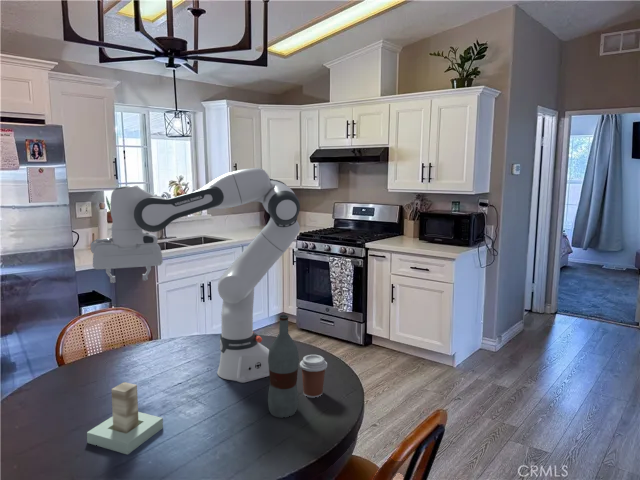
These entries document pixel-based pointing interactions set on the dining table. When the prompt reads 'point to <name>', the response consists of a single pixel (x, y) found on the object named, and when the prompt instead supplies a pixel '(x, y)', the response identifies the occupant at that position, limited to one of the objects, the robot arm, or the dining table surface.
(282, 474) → the dining table surface
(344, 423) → the dining table surface
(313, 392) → the coffee cup
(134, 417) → the peg
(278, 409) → the bottle
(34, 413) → the dining table surface
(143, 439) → the socket plate
